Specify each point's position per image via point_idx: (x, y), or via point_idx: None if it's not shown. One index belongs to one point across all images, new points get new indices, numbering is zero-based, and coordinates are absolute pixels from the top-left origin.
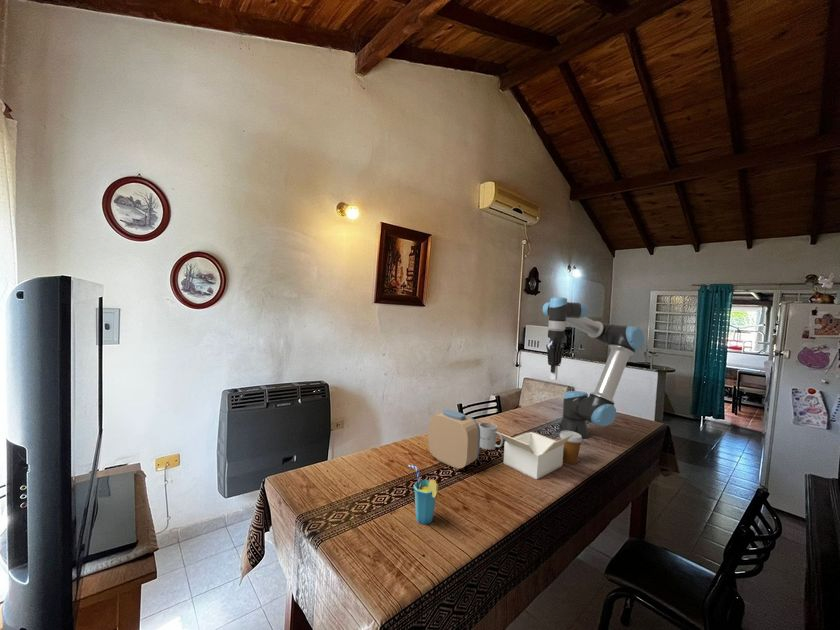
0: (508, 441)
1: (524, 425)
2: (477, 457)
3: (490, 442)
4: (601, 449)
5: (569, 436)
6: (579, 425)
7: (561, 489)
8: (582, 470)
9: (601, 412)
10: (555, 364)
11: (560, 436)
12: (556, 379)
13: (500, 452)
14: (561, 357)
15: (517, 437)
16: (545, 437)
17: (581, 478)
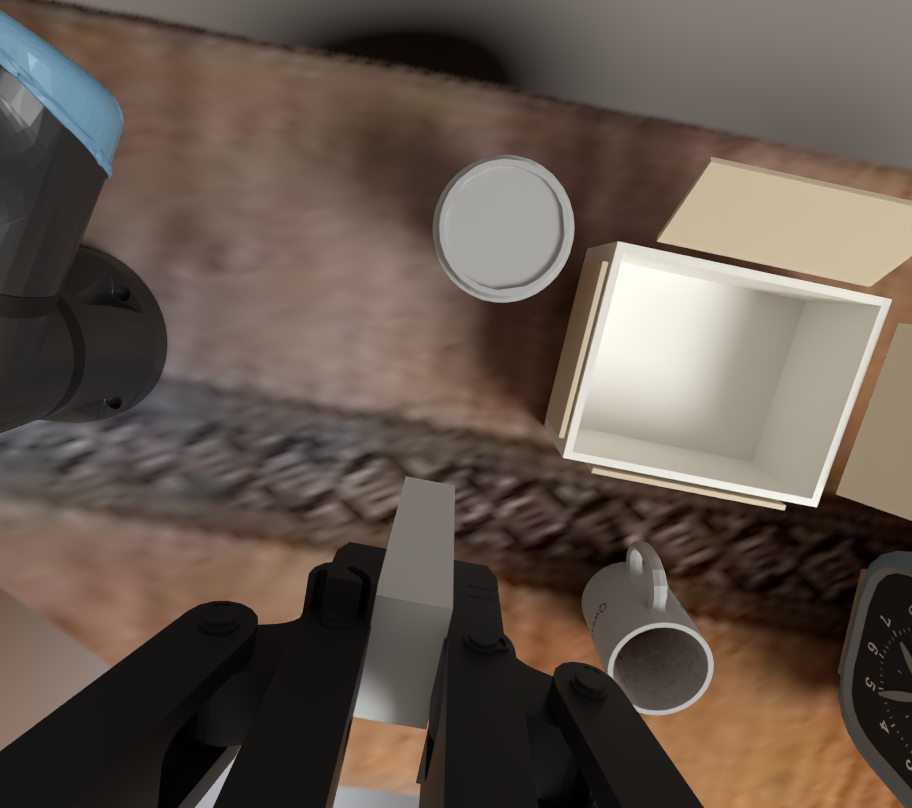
0: (870, 480)
1: (208, 581)
2: (901, 551)
3: (669, 590)
4: (199, 136)
5: (757, 167)
6: (80, 290)
7: (825, 179)
8: (563, 154)
9: (73, 63)
10: (487, 650)
11: (547, 284)
12: (419, 481)
13: (651, 524)
14: (59, 735)
15: (709, 480)
16: (588, 361)
17: (655, 135)
